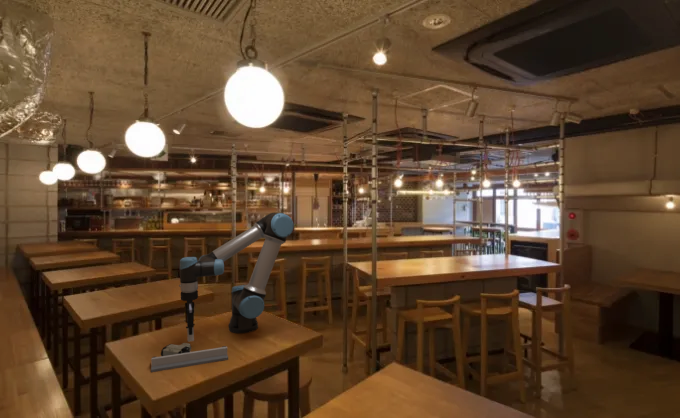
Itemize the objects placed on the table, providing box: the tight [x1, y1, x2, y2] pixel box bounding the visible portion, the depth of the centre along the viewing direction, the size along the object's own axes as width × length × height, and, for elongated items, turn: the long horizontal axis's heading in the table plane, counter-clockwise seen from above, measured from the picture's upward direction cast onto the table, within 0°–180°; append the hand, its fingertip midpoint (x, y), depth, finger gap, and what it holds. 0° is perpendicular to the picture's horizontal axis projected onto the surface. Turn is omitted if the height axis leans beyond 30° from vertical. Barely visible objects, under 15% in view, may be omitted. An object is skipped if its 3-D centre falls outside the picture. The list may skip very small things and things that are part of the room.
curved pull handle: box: [150, 345, 229, 373], centre depth 164 cm, size 30×10×4 cm, turn 113°
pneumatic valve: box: [160, 342, 192, 357], centre depth 168 cm, size 6×12×12 cm
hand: (190, 340), depth 179 cm, fingers closed
